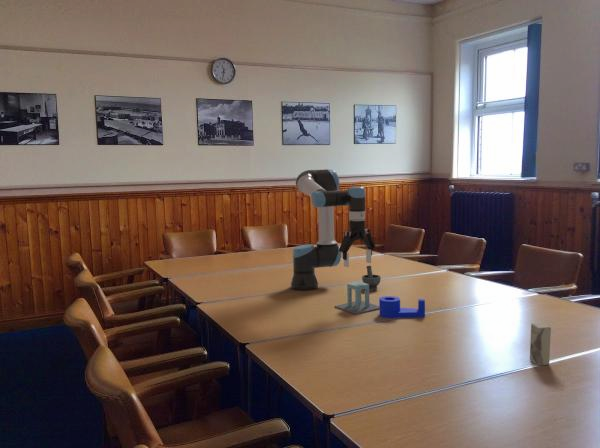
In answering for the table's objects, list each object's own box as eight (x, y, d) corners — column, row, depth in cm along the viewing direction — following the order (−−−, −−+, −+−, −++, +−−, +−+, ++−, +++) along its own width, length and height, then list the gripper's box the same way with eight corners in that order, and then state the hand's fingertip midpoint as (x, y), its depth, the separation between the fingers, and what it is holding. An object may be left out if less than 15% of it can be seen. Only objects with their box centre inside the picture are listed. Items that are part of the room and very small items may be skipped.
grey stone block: (529, 360, 174) (529, 322, 173) (541, 359, 175) (542, 322, 173) (537, 366, 169) (538, 327, 168) (550, 365, 170) (551, 327, 168)
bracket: (379, 318, 227) (379, 301, 227) (379, 312, 236) (379, 296, 235) (425, 319, 224) (425, 301, 223) (423, 313, 233) (423, 296, 232)
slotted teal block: (347, 306, 245) (347, 283, 244) (359, 303, 249) (359, 281, 248) (357, 309, 239) (357, 286, 238) (369, 306, 243) (369, 284, 242)
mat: (334, 307, 246) (334, 306, 246) (360, 301, 255) (360, 300, 255) (356, 314, 233) (356, 313, 233) (382, 308, 242) (382, 307, 242)
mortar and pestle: (382, 290, 276) (382, 268, 275) (365, 291, 275) (364, 269, 274) (376, 285, 287) (376, 264, 286) (360, 286, 286) (360, 265, 285)
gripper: (341, 223, 233) (341, 269, 235) (382, 218, 246) (382, 262, 249) (331, 221, 239) (331, 266, 241) (372, 217, 252) (372, 260, 255)
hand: (357, 264), depth 245 cm, fingers open, 13 cm apart
